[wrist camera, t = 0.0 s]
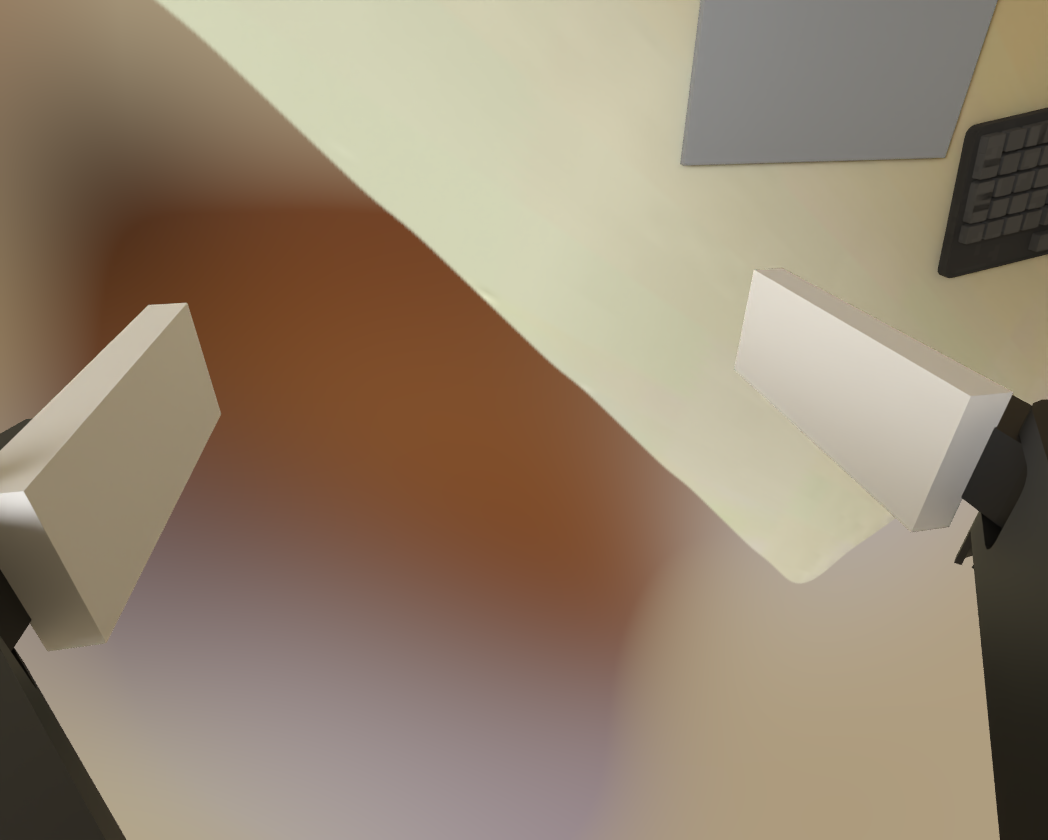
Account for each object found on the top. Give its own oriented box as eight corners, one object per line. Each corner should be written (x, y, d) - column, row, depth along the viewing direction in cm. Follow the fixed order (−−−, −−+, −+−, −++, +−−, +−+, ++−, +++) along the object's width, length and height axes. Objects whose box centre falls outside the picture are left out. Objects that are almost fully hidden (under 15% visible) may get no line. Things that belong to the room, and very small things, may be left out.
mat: (726, -206, 31) (731, -211, 31) (1050, -183, 34) (1060, -187, 34) (680, 163, 41) (684, 165, 40) (938, 156, 44) (944, 157, 43)
